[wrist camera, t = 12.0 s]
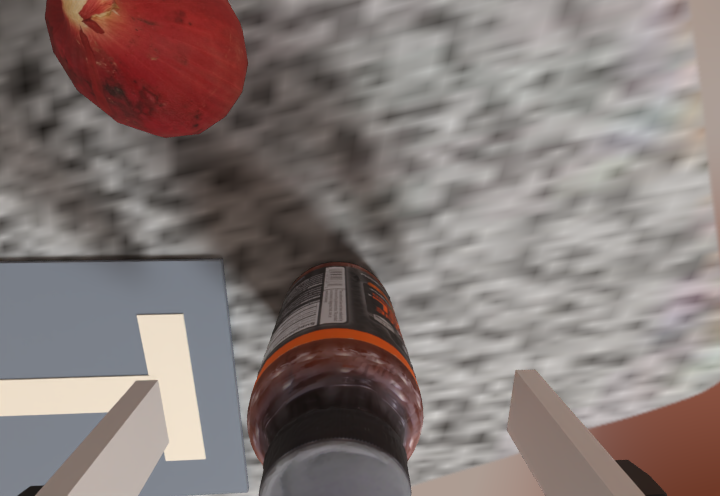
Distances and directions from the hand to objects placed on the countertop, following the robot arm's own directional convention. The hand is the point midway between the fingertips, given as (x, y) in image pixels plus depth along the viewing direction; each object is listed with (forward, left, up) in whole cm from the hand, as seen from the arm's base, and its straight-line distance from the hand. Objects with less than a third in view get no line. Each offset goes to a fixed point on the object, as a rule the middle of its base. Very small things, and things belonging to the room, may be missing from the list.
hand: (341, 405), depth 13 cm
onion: (-12, -6, -7) cm, 16 cm away
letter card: (+5, -14, -7) cm, 16 cm away
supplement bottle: (0, 0, -7) cm, 7 cm away
